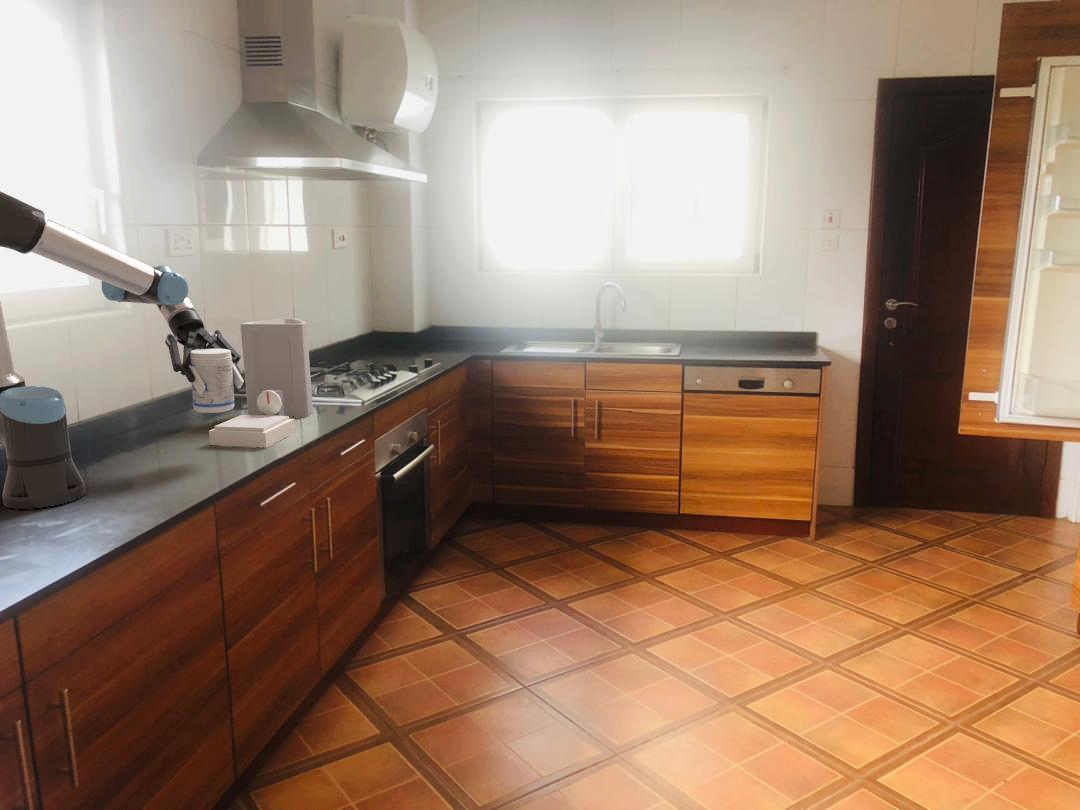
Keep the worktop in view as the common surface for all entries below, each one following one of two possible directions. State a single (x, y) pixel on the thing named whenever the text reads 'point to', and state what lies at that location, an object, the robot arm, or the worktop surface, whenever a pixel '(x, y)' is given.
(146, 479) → the worktop surface
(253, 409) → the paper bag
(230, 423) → the kitchen scale
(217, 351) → the supplement tub
